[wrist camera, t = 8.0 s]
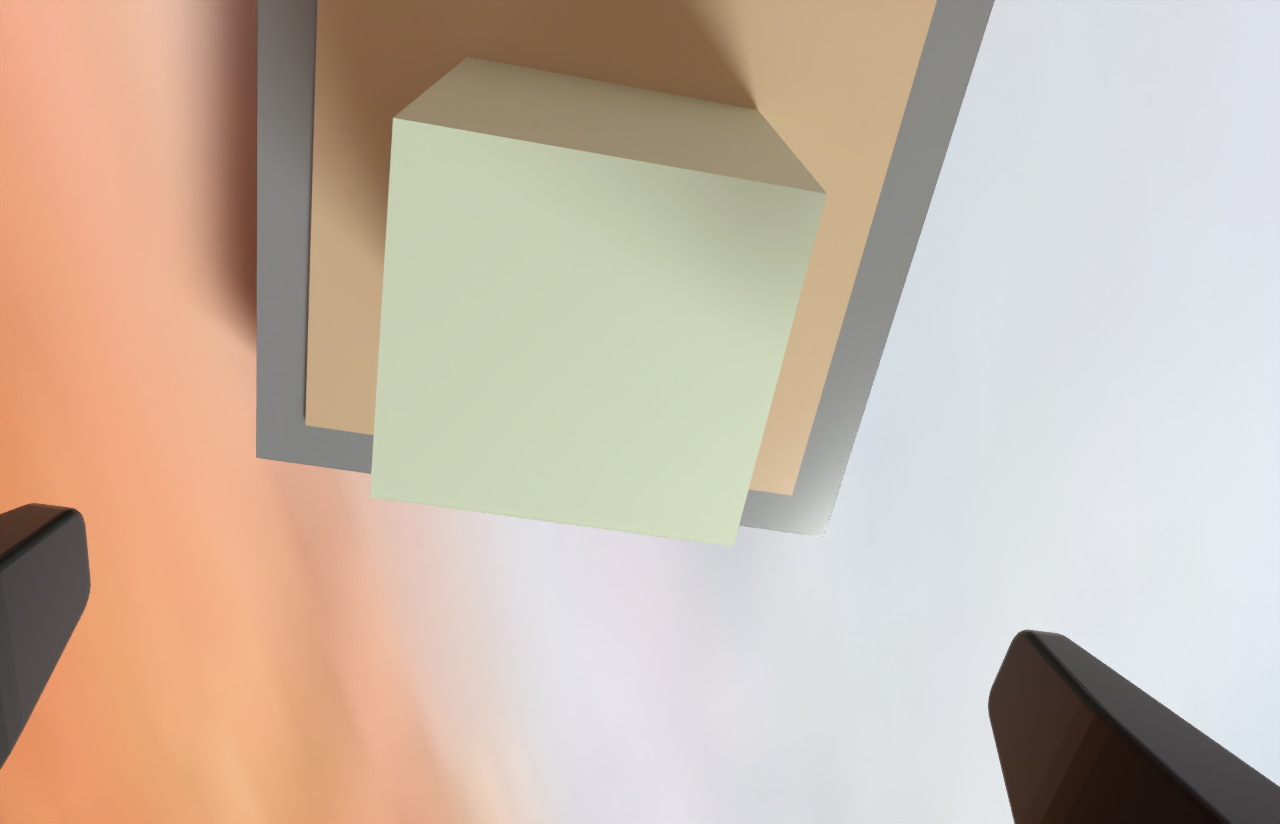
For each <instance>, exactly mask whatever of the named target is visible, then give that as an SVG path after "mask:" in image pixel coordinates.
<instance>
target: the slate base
mask: <svg viewBox="0 0 1280 824" xmlns="http://www.w3.org/2000/svg"><path fill="white" fill-rule="evenodd" d="M994 1H995V0H258V49H257V407H256V458H263V459H270V460H277V461H284V462H291V463H298V464H305V465H312V466H320V467H327V468H334V469H341V470H348V471H355V472H362V473H369V474H371V471H372V455H373V438H374V422H375V406H376V389H377V373H378V356H379V340H380V324H381V307H382V291H383V275H384V258H385V242H386V226H387V209H388V193H389V176H390V160H391V144H392V127H393V117H395V116H396V115H397V114H398V113H400V112H401V111H402V110H403V109H404V108H406V107H407V106H408V105H409V104H411V103H412V102H413V101H414V100H415V99H417V98H418V97H419V96H420V95H421V94H423V93H424V92H425V91H426V90H428V89H429V88H430V87H431V86H432V85H434V84H435V83H436V82H437V81H438V80H440V79H441V78H442V77H443V76H445V75H446V74H447V73H448V72H449V71H451V70H452V69H453V68H454V67H456V66H457V65H458V64H459V63H460V62H462V61H463V60H464V59H465V58H466V57H472V58H478V59H483V60H489V61H494V62H500V63H505V64H511V65H516V66H522V67H527V68H533V69H538V70H543V71H549V72H554V73H560V74H565V75H571V76H576V77H582V78H587V79H593V80H598V81H604V82H609V83H615V84H620V85H625V86H631V87H636V88H642V89H647V90H653V91H658V92H664V93H669V94H675V95H680V96H686V97H691V98H697V99H702V100H707V101H713V102H718V103H724V104H729V105H735V106H740V107H746V108H751V109H757V110H758V111H759V112H760V113H761V114H762V115H763V117H764V118H765V119H766V120H767V121H768V123H769V124H770V125H771V126H772V128H773V129H774V130H775V131H776V132H777V134H778V135H779V136H780V137H781V138H782V140H783V141H784V142H785V143H786V145H787V146H788V147H789V148H790V149H791V151H792V152H793V153H794V154H795V155H796V157H797V158H798V159H799V160H800V161H801V163H802V164H803V165H804V166H805V168H806V169H807V170H808V171H809V172H810V174H811V175H812V176H813V177H814V178H815V180H816V181H817V182H818V183H819V185H820V186H821V187H822V188H823V189H824V191H825V192H826V193H827V196H826V200H825V204H824V208H823V211H822V215H821V219H820V223H819V227H818V230H817V234H816V238H815V242H814V245H813V249H812V253H811V257H810V260H809V264H808V268H807V272H806V275H805V279H804V283H803V287H802V291H801V294H800V298H799V302H798V306H797V309H796V313H795V317H794V321H793V324H792V328H791V332H790V336H789V339H788V343H787V347H786V351H785V355H784V358H783V362H782V366H781V370H780V373H779V377H778V381H777V385H776V388H775V392H774V396H773V400H772V403H771V407H770V411H769V415H768V419H767V422H766V426H765V430H764V434H763V437H762V441H761V445H760V449H759V452H758V456H757V460H756V464H755V468H754V471H753V475H752V479H751V483H750V486H749V490H748V494H747V498H746V501H745V505H744V509H743V513H742V516H741V520H740V524H739V526H747V527H754V528H761V529H768V530H775V531H782V532H789V533H796V534H804V535H811V536H818V537H824V536H825V533H826V529H827V526H828V523H829V520H830V517H831V514H832V510H833V507H834V504H835V501H836V498H837V495H838V492H839V488H840V485H841V482H842V479H843V476H844V473H845V470H846V466H847V463H848V460H849V457H850V454H851V451H852V448H853V444H854V441H855V438H856V435H857V432H858V429H859V426H860V422H861V419H862V416H863V413H864V410H865V407H866V403H867V400H868V397H869V394H870V391H871V388H872V385H873V381H874V378H875V375H876V372H877V369H878V366H879V363H880V359H881V356H882V353H883V350H884V347H885V344H886V341H887V337H888V334H889V331H890V328H891V325H892V322H893V319H894V315H895V312H896V309H897V306H898V303H899V300H900V297H901V293H902V290H903V287H904V284H905V281H906V278H907V274H908V271H909V268H910V265H911V262H912V259H913V256H914V252H915V249H916V246H917V243H918V240H919V237H920V234H921V230H922V227H923V224H924V221H925V218H926V215H927V212H928V208H929V205H930V202H931V199H932V196H933V193H934V190H935V186H936V183H937V180H938V177H939V174H940V171H941V167H942V164H943V161H944V158H945V155H946V152H947V149H948V145H949V142H950V139H951V136H952V133H953V130H954V127H955V123H956V120H957V117H958V114H959V111H960V108H961V105H962V101H963V98H964V95H965V92H966V89H967V86H968V83H969V79H970V76H971V73H972V70H973V67H974V64H975V61H976V57H977V54H978V51H979V48H980V45H981V42H982V38H983V35H984V32H985V29H986V26H987V23H988V20H989V16H990V13H991V10H992V7H993V4H994Z"/></svg>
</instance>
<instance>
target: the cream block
mask: <svg viewBox="0 0 1280 824" xmlns="http://www.w3.org/2000/svg"><path fill="white" fill-rule="evenodd" d="M826 196H827V193H826V192H825V191H824V189H823V188H822V187H821V186H820V185H819V183H818V182H817V181H816V180H815V178H814V177H813V176H812V175H811V174H810V172H809V171H808V170H807V169H806V168H805V166H804V165H803V164H802V163H801V161H800V160H799V159H798V158H797V157H796V155H795V154H794V153H793V152H792V151H791V149H790V148H789V147H788V146H787V145H786V143H785V142H784V141H783V140H782V138H781V137H780V136H779V135H778V134H777V132H776V131H775V130H774V129H773V128H772V126H771V125H770V124H769V123H768V121H767V120H766V119H765V118H764V117H763V115H762V114H761V113H760V112H759V111H758V110H757V109H751V108H746V107H740V106H735V105H729V104H724V103H718V102H713V101H707V100H702V99H697V98H691V97H686V96H680V95H675V94H669V93H664V92H658V91H653V90H647V89H642V88H636V87H631V86H625V85H620V84H615V83H609V82H604V81H598V80H593V79H587V78H582V77H576V76H571V75H565V74H560V73H554V72H549V71H543V70H538V69H533V68H527V67H522V66H516V65H511V64H505V63H500V62H494V61H489V60H483V59H478V58H472V57H466V58H465V59H464V60H463V61H462V62H460V63H459V64H458V65H457V66H456V67H454V68H453V69H452V70H451V71H449V72H448V73H447V74H446V75H445V76H443V77H442V78H441V79H440V80H438V81H437V82H436V83H435V84H434V85H432V86H431V87H430V88H429V89H428V90H426V91H425V92H424V93H423V94H421V95H420V96H419V97H418V98H417V99H415V100H414V101H413V102H412V103H411V104H409V105H408V106H407V107H406V108H404V109H403V110H402V111H401V112H400V113H398V114H397V115H396V116H395V117H393V127H392V144H391V160H390V176H389V193H388V209H387V226H386V242H385V258H384V275H383V291H382V307H381V324H380V340H379V356H378V373H377V389H376V406H375V422H374V438H373V455H372V471H371V487H370V497H371V498H378V499H386V500H393V501H400V502H408V503H415V504H423V505H430V506H437V507H445V508H452V509H459V510H467V511H474V512H482V513H489V514H496V515H504V516H511V517H518V518H526V519H533V520H541V521H548V522H555V523H563V524H570V525H577V526H585V527H592V528H599V529H607V530H614V531H622V532H629V533H636V534H644V535H651V536H658V537H666V538H673V539H681V540H688V541H695V542H703V543H710V544H717V545H725V546H732V547H734V543H735V539H736V535H737V532H738V528H739V524H740V520H741V516H742V513H743V509H744V505H745V501H746V498H747V494H748V490H749V486H750V483H751V479H752V475H753V471H754V468H755V464H756V460H757V456H758V452H759V449H760V445H761V441H762V437H763V434H764V430H765V426H766V422H767V419H768V415H769V411H770V407H771V403H772V400H773V396H774V392H775V388H776V385H777V381H778V377H779V373H780V370H781V366H782V362H783V358H784V355H785V351H786V347H787V343H788V339H789V336H790V332H791V328H792V324H793V321H794V317H795V313H796V309H797V306H798V302H799V298H800V294H801V291H802V287H803V283H804V279H805V275H806V272H807V268H808V264H809V260H810V257H811V253H812V249H813V245H814V242H815V238H816V234H817V230H818V227H819V223H820V219H821V215H822V211H823V208H824V204H825V200H826Z"/></svg>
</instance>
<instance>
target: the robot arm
mask: <svg viewBox="0 0 1280 824" xmlns="http://www.w3.org/2000/svg"><path fill="white" fill-rule="evenodd" d="M90 585H91V583H90V570H89V559H88V548H87V537H86V527H85V522H84V518H83V516H82V514H81V513H80V512H79V511H77V510H76V509H74V508H69V507H61V506H54V505H46V504H38V503H32V504H27V505H24V506H21V507H18V508H16V509H13V510H10V511H8V512H5V513H2V514H0V769H1V768H2V766H3V765H4V763H5V761H6V760H7V758H8V757H9V755H10V753H11V751H12V750H13V748H14V746H15V744H16V742H17V740H18V739H19V737H20V735H21V733H22V731H23V729H24V728H25V726H26V724H27V722H28V720H29V718H30V716H31V714H32V712H33V710H34V708H35V706H36V704H37V702H38V700H39V698H40V696H41V694H42V692H43V690H44V688H45V686H46V684H47V682H48V680H49V678H50V676H51V674H52V672H53V671H54V669H55V667H56V665H57V663H58V661H59V659H60V657H61V655H62V653H63V651H64V649H65V647H66V645H67V643H68V641H69V639H70V637H71V635H72V633H73V631H74V629H75V627H76V625H77V623H78V621H79V619H80V617H81V615H82V613H83V612H84V609H85V607H86V604H87V601H88V598H89V593H90ZM988 710H989V718H990V722H991V726H992V730H993V735H994V739H995V743H996V747H997V752H998V756H999V760H1000V764H1001V769H1002V773H1003V777H1004V781H1005V786H1006V790H1007V794H1008V798H1009V802H1010V807H1011V811H1012V815H1013V819H1014V824H1280V787H1279V786H1278V785H1276V784H1275V783H1274V782H1272V781H1271V780H1269V779H1268V778H1266V777H1265V776H1264V775H1262V774H1261V773H1259V772H1258V771H1256V770H1255V769H1254V768H1252V767H1251V766H1249V765H1248V764H1246V763H1245V762H1244V761H1242V760H1241V759H1239V758H1238V757H1237V756H1235V755H1234V754H1232V753H1231V752H1229V751H1228V750H1227V749H1225V748H1224V747H1222V746H1221V745H1219V744H1218V743H1217V742H1215V741H1214V740H1212V739H1211V738H1209V737H1208V736H1207V735H1205V734H1204V733H1202V732H1201V731H1200V730H1198V729H1197V728H1195V727H1194V726H1192V725H1191V724H1190V723H1188V722H1187V721H1185V720H1184V719H1182V718H1181V717H1180V716H1178V715H1177V714H1175V713H1174V712H1172V711H1171V710H1170V709H1168V708H1167V707H1165V706H1164V705H1162V704H1161V703H1160V702H1158V701H1157V700H1155V699H1154V698H1153V697H1151V696H1150V695H1148V694H1147V693H1145V692H1144V691H1143V690H1141V689H1140V688H1138V687H1137V686H1135V685H1134V684H1133V683H1131V682H1130V681H1128V680H1127V679H1125V678H1124V677H1123V676H1121V675H1120V674H1118V673H1117V672H1115V671H1114V670H1113V669H1111V668H1110V667H1108V666H1107V665H1106V664H1104V663H1103V662H1101V661H1100V660H1098V659H1097V658H1096V657H1094V656H1093V655H1091V654H1090V653H1088V652H1087V651H1086V650H1084V649H1083V648H1081V647H1080V646H1078V645H1077V644H1076V643H1074V642H1073V641H1071V640H1070V639H1069V638H1067V637H1065V636H1064V635H1061V634H1058V633H1051V632H1043V631H1035V630H1023V631H1021V632H1019V633H1018V634H1017V635H1016V636H1015V637H1014V638H1013V640H1012V642H1011V644H1010V647H1009V649H1008V651H1007V653H1006V656H1005V658H1004V660H1003V663H1002V665H1001V667H1000V669H999V672H998V674H997V676H996V679H995V681H994V683H993V685H992V688H991V691H990V695H989V702H988Z"/></svg>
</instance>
